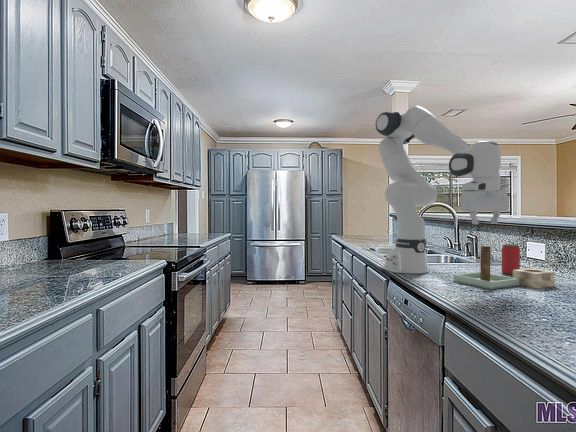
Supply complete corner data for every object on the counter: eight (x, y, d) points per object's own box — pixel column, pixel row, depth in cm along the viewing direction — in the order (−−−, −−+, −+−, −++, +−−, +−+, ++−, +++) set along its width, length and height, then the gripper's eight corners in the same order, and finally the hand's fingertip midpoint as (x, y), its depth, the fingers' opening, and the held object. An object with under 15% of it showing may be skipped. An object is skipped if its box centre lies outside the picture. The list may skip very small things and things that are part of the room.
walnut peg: (478, 281, 139) (478, 246, 139) (484, 280, 140) (484, 245, 140) (485, 282, 136) (486, 246, 136) (492, 282, 137) (492, 246, 137)
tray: (453, 281, 143) (453, 274, 143) (480, 278, 148) (480, 271, 148) (491, 289, 128) (491, 282, 128) (519, 285, 134) (519, 278, 134)
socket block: (512, 283, 137) (512, 269, 137) (529, 281, 141) (529, 268, 141) (537, 288, 129) (537, 273, 129) (554, 286, 133) (554, 271, 133)
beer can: (502, 271, 163) (502, 243, 162) (520, 273, 159) (520, 244, 158) (500, 273, 157) (500, 245, 157) (519, 275, 153) (519, 246, 153)
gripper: (498, 186, 144) (497, 222, 145) (458, 185, 136) (457, 223, 137) (513, 186, 138) (512, 223, 139) (473, 185, 130) (471, 225, 131)
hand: (484, 223), depth 138 cm, fingers open, 8 cm apart
